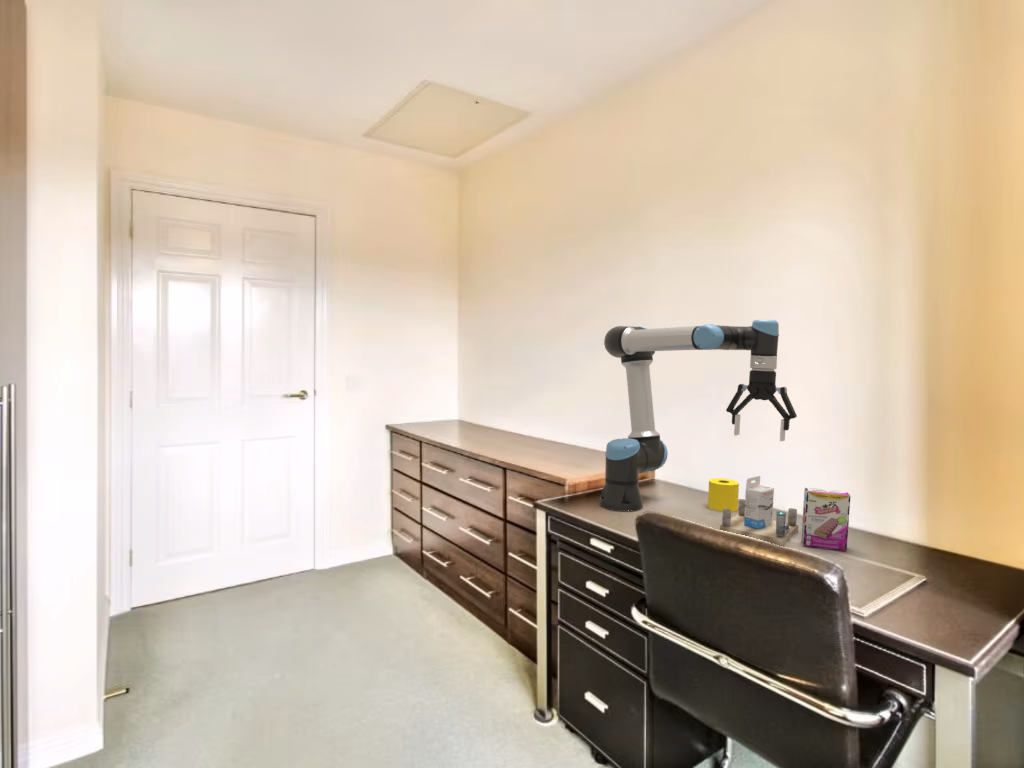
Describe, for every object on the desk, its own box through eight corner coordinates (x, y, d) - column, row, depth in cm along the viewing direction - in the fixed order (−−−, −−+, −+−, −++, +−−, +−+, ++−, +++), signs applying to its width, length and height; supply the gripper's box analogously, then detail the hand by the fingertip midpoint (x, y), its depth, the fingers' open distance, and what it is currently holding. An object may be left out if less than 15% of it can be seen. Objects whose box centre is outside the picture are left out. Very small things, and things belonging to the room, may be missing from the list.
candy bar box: (803, 547, 160) (806, 490, 159) (800, 541, 165) (803, 486, 164) (848, 552, 156) (851, 494, 155) (843, 546, 161) (847, 490, 160)
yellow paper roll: (738, 513, 193) (739, 486, 192) (708, 510, 196) (709, 483, 195) (736, 505, 202) (737, 479, 202) (707, 502, 205) (708, 477, 205)
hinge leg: (781, 527, 169) (782, 505, 169) (790, 529, 168) (791, 506, 167) (774, 535, 162) (775, 512, 161) (783, 537, 160) (785, 514, 160)
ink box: (758, 530, 168) (761, 482, 167) (743, 525, 172) (745, 478, 171) (772, 524, 174) (775, 478, 173) (757, 520, 178) (759, 475, 177)
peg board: (719, 532, 172) (720, 509, 171) (739, 519, 186) (739, 498, 185) (782, 546, 160) (783, 522, 160) (798, 531, 174) (799, 509, 174)
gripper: (718, 368, 178) (714, 434, 179) (804, 372, 162) (799, 444, 163) (726, 367, 184) (723, 431, 185) (810, 371, 167) (805, 441, 169)
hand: (758, 437), depth 174 cm, fingers open, 13 cm apart
